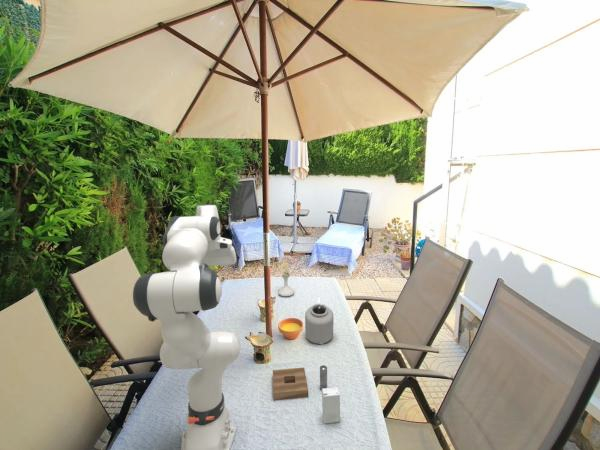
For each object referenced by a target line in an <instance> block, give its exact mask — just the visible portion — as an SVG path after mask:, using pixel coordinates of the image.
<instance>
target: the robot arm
mask: <svg viewBox="0 0 600 450" xmlns="http://www.w3.org/2000/svg"><path fill="white" fill-rule="evenodd" d="M195 213H196V214H195V215H193V216H178V215H175V216H172V218H171V219H169V221H168V223H167V228H166V230H165V232H164V234H163V237H162V242H163V250H162V255H161V257H162V262H163V265H164V266H165V267H166V269H168V270H169V271H163V272H157V273H155V272H151V273H147V274H144V275H141V276H140V277H138V278H137V279H136V282H135V283H134V286H133V289H132V290H133V291H132V300H133V301H132V302H133V305H134V307H135V309H136V310H138V312H139V313H140V314H141V315H143V316H145V317H147V319H148V321H149V322H155V321H156V320H158V321H160V323H161V325H160V326H161V327H160V332H161V333H160V334H161V338H162V341H163V343H162V344H161V347H160V349H159V359H160V363H161V364H162V365H163V366H164V367H165V368H166V369H173V370H189V369H198V370H197V371H196V372H195V373H193V374H192V376H191V377H190V378H189V380H188V381H187V397H188V403H187V404H188V405H187V413H186V430H184V431H183V433H182V434H181V446H180V447H181V448H180V450H231V448H232V445H233V443H234V439H235V437H236V433H237V430H238V429H237V427H236V426H235V425H233V424H232V421H231V420H232V419H231V413H230V409H229V408H227V407H226V405H225V395H224V393H223V387H222V386H223V376H224V373H225V371H226V370H227V369H228V368H229V366H231V365H232V364H233V363H235V362H236V361H237V359H238V357H239V356H240V353H241V341H240V339H239V337H238V336H237V334H236V333H235V332H231V331H224V330H218V331H210V330H209V328H208V327H207V325H206V324H205V322H204V321H203V320H202V318H201V317H199V316H198V315H197V314H195V313H194V312H198V311H203V312H205V311H209V310H212V309H215V308H216V307H217V306H218V305H219V303H220V300H221V297H222V294H223V287H222V282H221V280H220V277H219V275H218V273H217V272H216V271H215V270H214V269H212V268H210V267H214V266H215V267H216V266H218V267H219V266H223V267H224V269H222V270H221V275H222V276H226V275H227V270H228V268H229V266H230V265H231V266H232V265H235V264H236V263H237V254H236V250H235V247H234V246H233V240H232V239H230V238H226V237H222V236H221V233H222V223H221V220H220V217H219V212H218V207H217V205H216V204H213V203H212V204H211V203H210V204H209V203H208V204H207V203H206V204H205V203H203V204H202V203H201V204H199V205H197V206H196V212H195ZM185 436H186V437H185Z"/></svg>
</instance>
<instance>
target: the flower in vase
mask: <svg viewBox="0 0 600 450" xmlns="http://www.w3.org/2000/svg"><path fill="white" fill-rule="evenodd" d="M289 266H290V265H289V263H288V262H287V261H284V262H282V263H281V265H280V268H279V269H280V270H279V271H280V272H281V273H282V275H281V277H282V279H283V282H284V283H283V284H284V285H283V287H281V288H280V289H279V290H278V292H277V293H278V296H282V297H289V296H290V297H291V296H293V295H294V294H295V290H294V289H293V287H290V286H289V285H288V279H289V277H291V275H290V272H289V271H288V270H289V268H290V267H289Z"/></svg>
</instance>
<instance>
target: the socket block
mask: <svg viewBox="0 0 600 450" xmlns="http://www.w3.org/2000/svg"><path fill="white" fill-rule="evenodd" d="M306 375H307V374H306V370H305V367H295V368H292V367H291V368H284V369H273V370H272V391H273V392H272V393H273V401H280V400H281V401H282V400H283V401H284V400H293V399H294V400H295V399H305V398H309V388H308V381H307V376H306Z"/></svg>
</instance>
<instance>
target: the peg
mask: <svg viewBox="0 0 600 450" xmlns="http://www.w3.org/2000/svg"><path fill="white" fill-rule="evenodd" d="M324 388H328V367H327V366H326V365H321V366H319V389H320V390H319V391H321V392H322V389H324Z"/></svg>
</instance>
